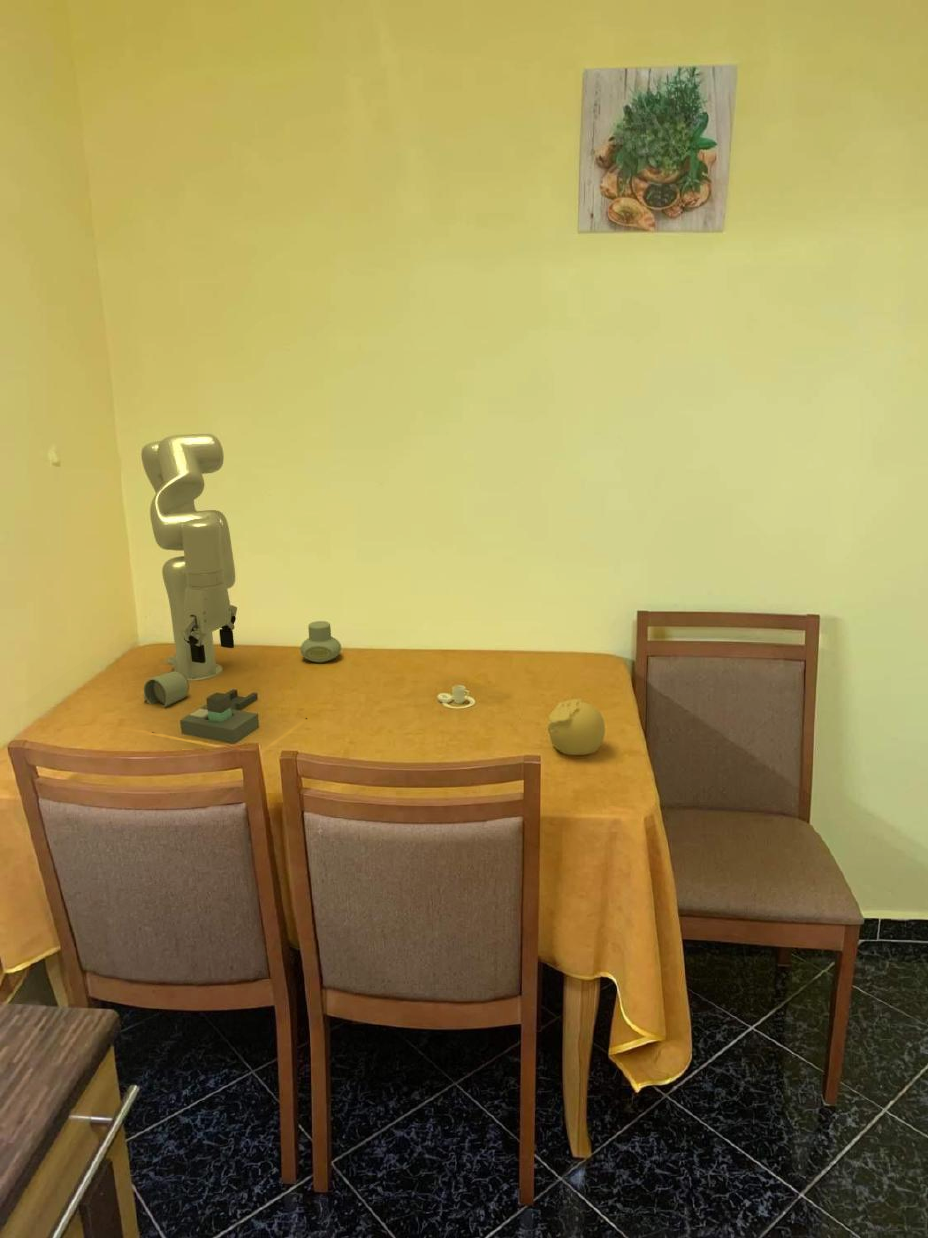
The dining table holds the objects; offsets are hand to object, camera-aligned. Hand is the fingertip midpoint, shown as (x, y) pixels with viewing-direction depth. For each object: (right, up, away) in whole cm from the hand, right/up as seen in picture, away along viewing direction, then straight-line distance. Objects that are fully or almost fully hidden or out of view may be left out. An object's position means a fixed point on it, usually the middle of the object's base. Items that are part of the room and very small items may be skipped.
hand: (213, 654), depth 187 cm
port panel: (0, -18, +5) cm, 18 cm away
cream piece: (+52, -12, +23) cm, 58 cm away
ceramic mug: (-18, -13, +22) cm, 31 cm away
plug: (0, -17, +4) cm, 17 cm away
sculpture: (+78, -20, -4) cm, 80 cm away
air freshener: (+15, -3, +50) cm, 52 cm away
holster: (0, -13, +19) cm, 23 cm away
